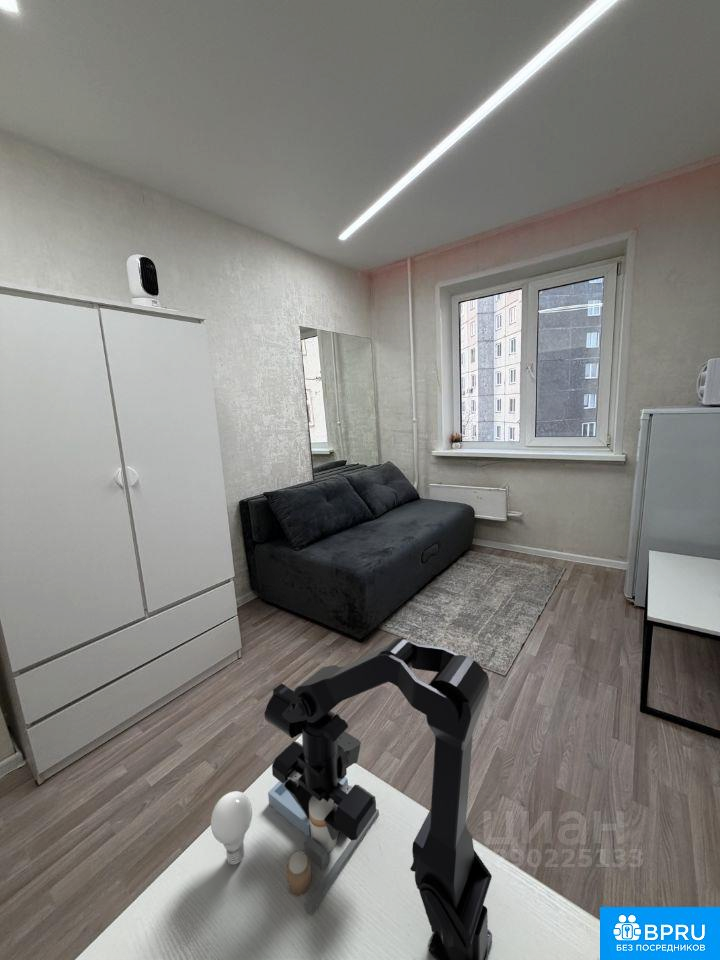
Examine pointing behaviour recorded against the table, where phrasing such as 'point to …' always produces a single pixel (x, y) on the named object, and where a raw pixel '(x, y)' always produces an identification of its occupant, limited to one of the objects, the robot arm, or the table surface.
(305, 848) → the grey bar and blocks
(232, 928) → the table surface
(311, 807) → the cylinder
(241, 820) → the lightbulb
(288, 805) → the tray
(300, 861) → the cylinder
